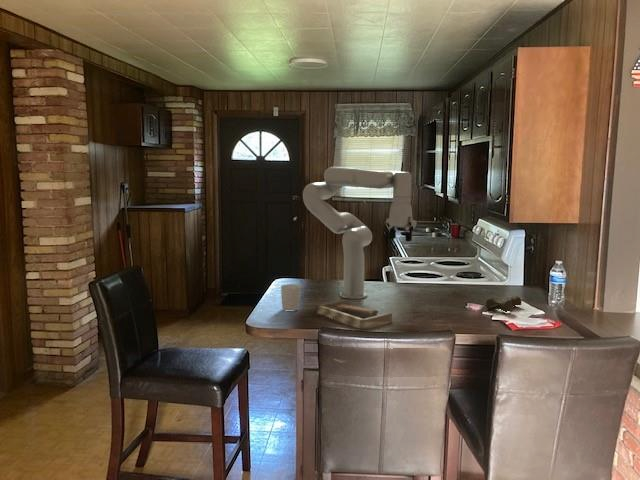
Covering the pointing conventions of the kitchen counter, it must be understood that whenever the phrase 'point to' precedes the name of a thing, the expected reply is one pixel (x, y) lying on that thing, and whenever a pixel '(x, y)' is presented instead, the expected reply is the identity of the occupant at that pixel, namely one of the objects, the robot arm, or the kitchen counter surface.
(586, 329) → the kitchen counter surface
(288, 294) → the white cup
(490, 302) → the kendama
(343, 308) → the packaged product
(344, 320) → the wooden frame
